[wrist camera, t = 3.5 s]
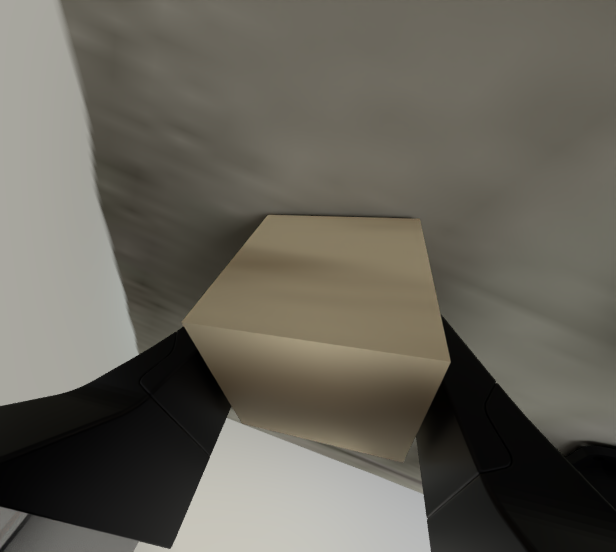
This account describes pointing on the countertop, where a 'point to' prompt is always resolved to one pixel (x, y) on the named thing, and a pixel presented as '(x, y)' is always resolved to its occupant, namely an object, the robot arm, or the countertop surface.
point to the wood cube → (327, 331)
